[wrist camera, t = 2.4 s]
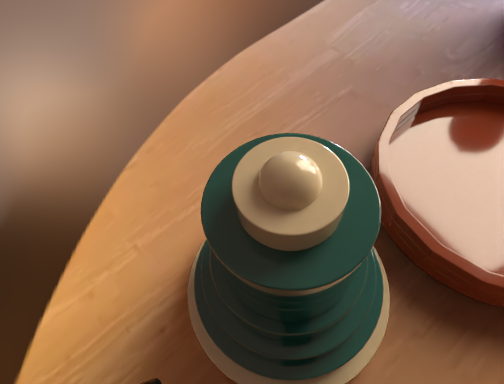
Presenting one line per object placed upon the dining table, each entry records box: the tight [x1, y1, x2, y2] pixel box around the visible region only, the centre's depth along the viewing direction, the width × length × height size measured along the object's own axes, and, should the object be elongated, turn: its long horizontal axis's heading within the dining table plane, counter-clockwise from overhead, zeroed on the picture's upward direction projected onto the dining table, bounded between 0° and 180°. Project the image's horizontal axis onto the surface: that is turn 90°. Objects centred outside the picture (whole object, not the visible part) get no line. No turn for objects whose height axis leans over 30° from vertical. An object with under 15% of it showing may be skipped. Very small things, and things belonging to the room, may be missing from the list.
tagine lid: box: [188, 133, 390, 384], centre depth 15 cm, size 11×11×13 cm
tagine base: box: [370, 78, 504, 307], centre depth 22 cm, size 15×16×3 cm
